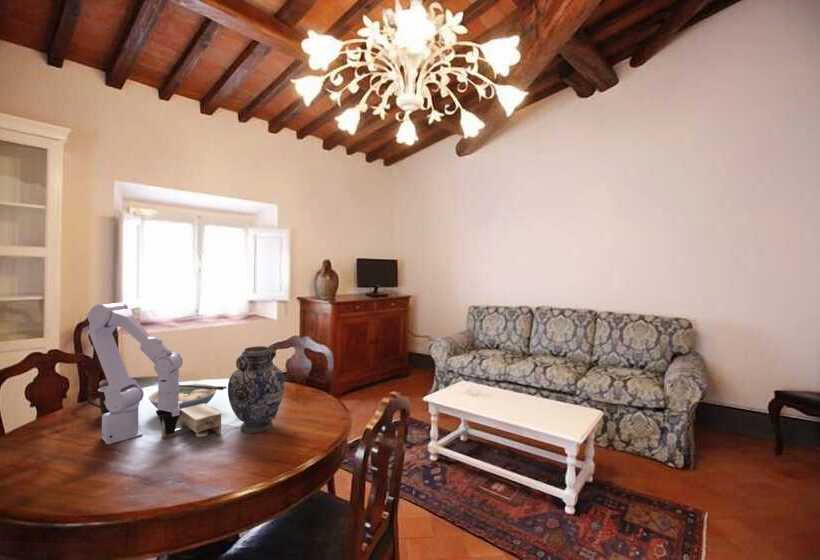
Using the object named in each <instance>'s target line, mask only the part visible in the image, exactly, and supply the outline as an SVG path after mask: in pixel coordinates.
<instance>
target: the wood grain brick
mask: <svg viewBox="0 0 820 560" xmlns="http://www.w3.org/2000/svg"><path fill="white" fill-rule="evenodd" d="M191 431H193V430H192V429H190V428H189V427H188V426H185V427H181V428H180V427H179V428H175V431H174V433H172V434H168V435H167V434H166V431H165V425H164V421H163V419H162V426H161V437H162V438H163V439H164V440H167V439H170V438H173V437H176V436H177V435H181V434H184V433H187V432H191Z"/></svg>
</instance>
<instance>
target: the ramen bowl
mask: <svg viewBox="0 0 820 560" xmlns="http://www.w3.org/2000/svg"><path fill="white" fill-rule="evenodd" d="M225 389H227V386H215V385H212V384H211V385H210V384H205V383H203V384H202V383H198V384H196V383H195V384H194V383H191V384H179V401H182V402H183V404H181V405H179V409H182V408H187V407H191V406H195V405H199V404H204V403H205V404H207V405H208V403H210V401H211V400H212V399H213V398H214V396H215V395H216V392H217V390H218V391H224V390H225ZM148 400H149V402H150V403H151V404H152V405H153V406H154V407H155V408H156V410H159V409H158V390H157V391H155V392H153V393H151V394H150V395H149V396H148Z"/></svg>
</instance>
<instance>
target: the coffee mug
mask: <svg viewBox="0 0 820 560" xmlns="http://www.w3.org/2000/svg"><path fill="white" fill-rule="evenodd" d="M107 387H108V385H106V386H102V387H100V388H98V389H97V392H90V393H88V394H87V395H86V401H87V402H88V403H89V404H90V405H92V406H94V407H96V408H99V409H100V413H101V416H102V415H103V414H105V413H108V412H110V411H109V410H108V409H107V408H106V406H105V400H106V398H105V394H104V392H105V390H106V389H107ZM121 390H123V389H121ZM92 395H96V396H97V397H98V399H99V404H96V403H94V402H92V401H91V400H90V399H89V397H90V396H92Z"/></svg>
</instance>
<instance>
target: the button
mask: <svg viewBox="0 0 820 560" xmlns="http://www.w3.org/2000/svg"><path fill="white" fill-rule="evenodd" d="M209 433H210V430H209V429H205V430H202V431H198V432H194V434H195V437H196V438H205V437H206V436H209Z"/></svg>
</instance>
